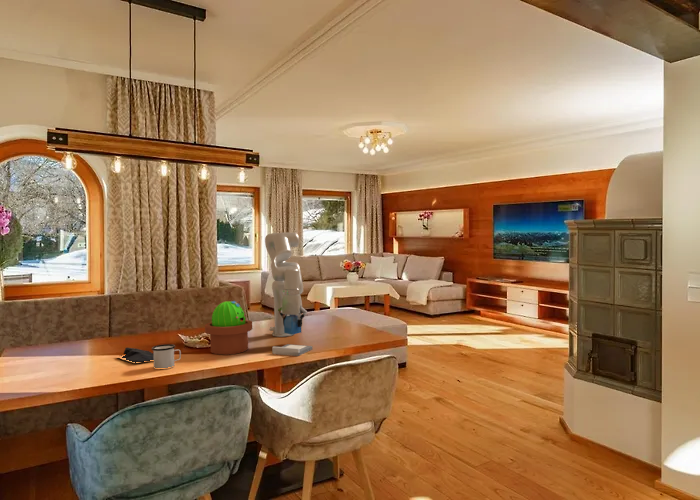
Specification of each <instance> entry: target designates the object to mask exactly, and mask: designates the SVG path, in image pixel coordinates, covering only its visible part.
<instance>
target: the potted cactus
mask: <svg viewBox="0 0 700 500" xmlns="http://www.w3.org/2000/svg"><path fill="white" fill-rule="evenodd" d="M246 317H247V316H246V314H245V311H244V309H243V307H242V306H241V304H240V303H237V301H236V300H233V301H232V300H231V301H230V300H228V301H222V302H221V303H219V304H218V305H217V306H216V307H215V308H214V309H213V312H212V314H211V321H210V322H208V323H205V325H204V333H205V334H207V335H209V336H210V353H212V354H214V355H221V354H223V356H224V355H226V356H228V355H236V354H241V353H243V352H247V350H248V349H249V334H248V332H251V331H252V330H253V321H252V320H248V319H246Z"/></svg>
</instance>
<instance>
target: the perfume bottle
mask: <svg viewBox="0 0 700 500" xmlns="http://www.w3.org/2000/svg"><path fill="white" fill-rule="evenodd" d="M284 333H287V334H291V335H292V336H294V335H297V334H301V333H302V326H301V327H298V317H297V315H290V316H287V317H286V319H285V320H284ZM293 334H294V335H293Z"/></svg>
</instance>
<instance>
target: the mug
mask: <svg viewBox="0 0 700 500" xmlns="http://www.w3.org/2000/svg"><path fill="white" fill-rule="evenodd" d="M175 348H176V345H175V344H171V343H167V344H166V343H164V344H159V345H154V346H152V347H151V350H152V353H153V359H154V362H153V368H154V367H155V368H168V367H172V366H174V367H175V362H177V361H180V360H181V355H182V352H181V350H180V349H175ZM177 351H178V352H179V353H178V354H179V358H177V359H175V352H177ZM172 368H173V367H172Z"/></svg>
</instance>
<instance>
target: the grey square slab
mask: <svg viewBox="0 0 700 500" xmlns="http://www.w3.org/2000/svg"><path fill="white" fill-rule="evenodd" d="M271 350H272V352H271V353H272V354H273V355H283V356H295V357H299V356H302V355H304V354H306V353H307V352H310V351H311V350H313V346H312V345H304V344H303V345H301V344H290V343H289V344H288V343H287V344H285V345H283V346H272V349H271Z"/></svg>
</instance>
